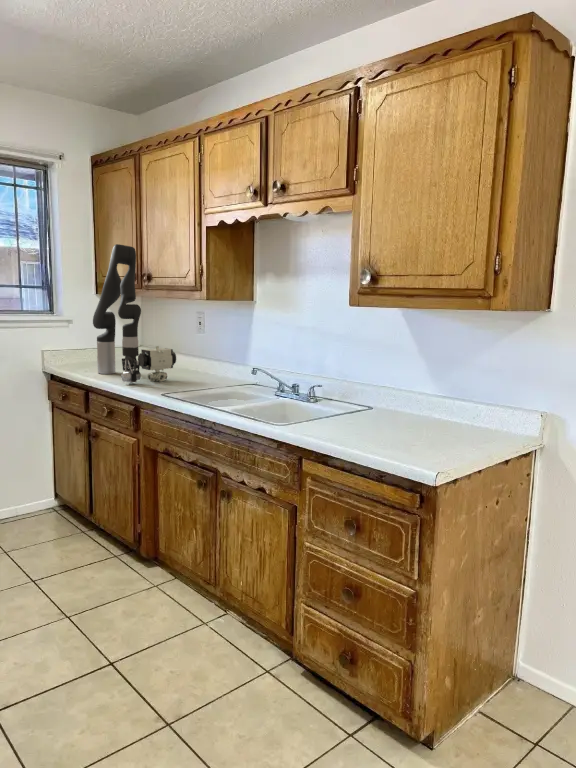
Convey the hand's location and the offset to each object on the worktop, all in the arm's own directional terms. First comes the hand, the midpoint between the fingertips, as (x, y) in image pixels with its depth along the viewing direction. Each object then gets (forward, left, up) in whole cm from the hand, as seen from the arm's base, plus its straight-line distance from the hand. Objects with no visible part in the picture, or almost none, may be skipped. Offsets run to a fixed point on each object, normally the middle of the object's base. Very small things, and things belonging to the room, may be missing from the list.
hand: (131, 380), depth 278 cm
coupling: (0, 0, -1) cm, 1 cm away
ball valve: (0, +15, -2) cm, 15 cm away
